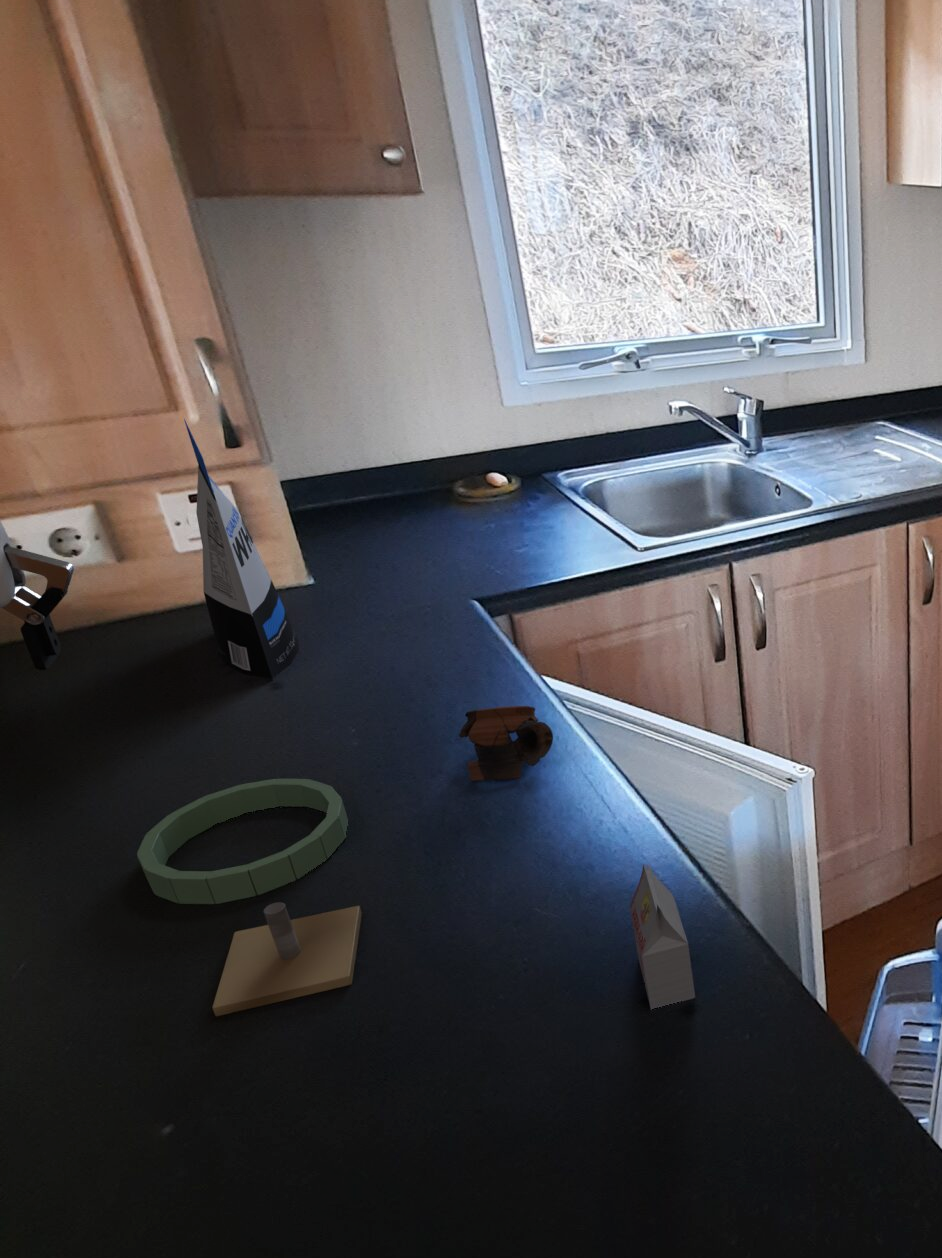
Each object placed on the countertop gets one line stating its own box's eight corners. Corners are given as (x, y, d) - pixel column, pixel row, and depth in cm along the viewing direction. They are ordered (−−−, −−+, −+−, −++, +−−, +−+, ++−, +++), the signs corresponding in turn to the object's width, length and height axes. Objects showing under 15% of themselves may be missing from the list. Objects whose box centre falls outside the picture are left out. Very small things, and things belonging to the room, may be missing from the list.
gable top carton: (680, 947, 94) (668, 857, 90) (695, 997, 89) (683, 904, 84) (638, 958, 93) (623, 867, 88) (650, 1010, 87) (635, 916, 83)
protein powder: (231, 690, 136) (154, 464, 123) (210, 627, 153) (141, 423, 140) (313, 671, 141) (248, 452, 128) (284, 612, 158) (225, 414, 145)
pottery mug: (443, 785, 118) (438, 712, 118) (505, 779, 127) (500, 711, 127) (530, 777, 114) (524, 702, 115) (587, 771, 123) (582, 701, 124)
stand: (215, 1017, 86) (192, 961, 83) (237, 940, 94) (217, 887, 92) (352, 984, 90) (334, 930, 87) (362, 913, 98) (346, 861, 95)
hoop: (127, 922, 96) (116, 896, 95) (171, 821, 110) (162, 797, 109) (338, 879, 102) (331, 854, 101) (355, 788, 116) (348, 765, 115)
